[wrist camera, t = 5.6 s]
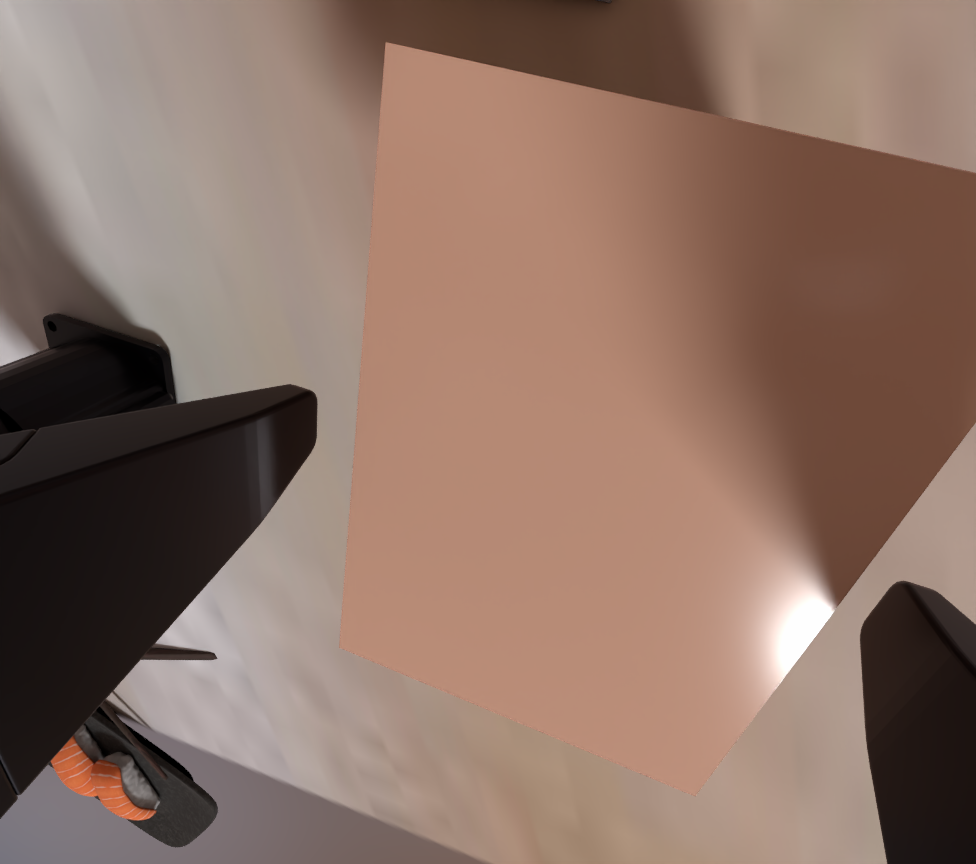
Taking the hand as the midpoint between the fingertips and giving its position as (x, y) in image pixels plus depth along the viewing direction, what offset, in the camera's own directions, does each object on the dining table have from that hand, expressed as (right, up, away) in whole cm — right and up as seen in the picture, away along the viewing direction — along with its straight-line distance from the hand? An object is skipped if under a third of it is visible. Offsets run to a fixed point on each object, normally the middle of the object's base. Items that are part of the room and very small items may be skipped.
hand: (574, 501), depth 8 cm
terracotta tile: (+1, +1, +2) cm, 2 cm away
